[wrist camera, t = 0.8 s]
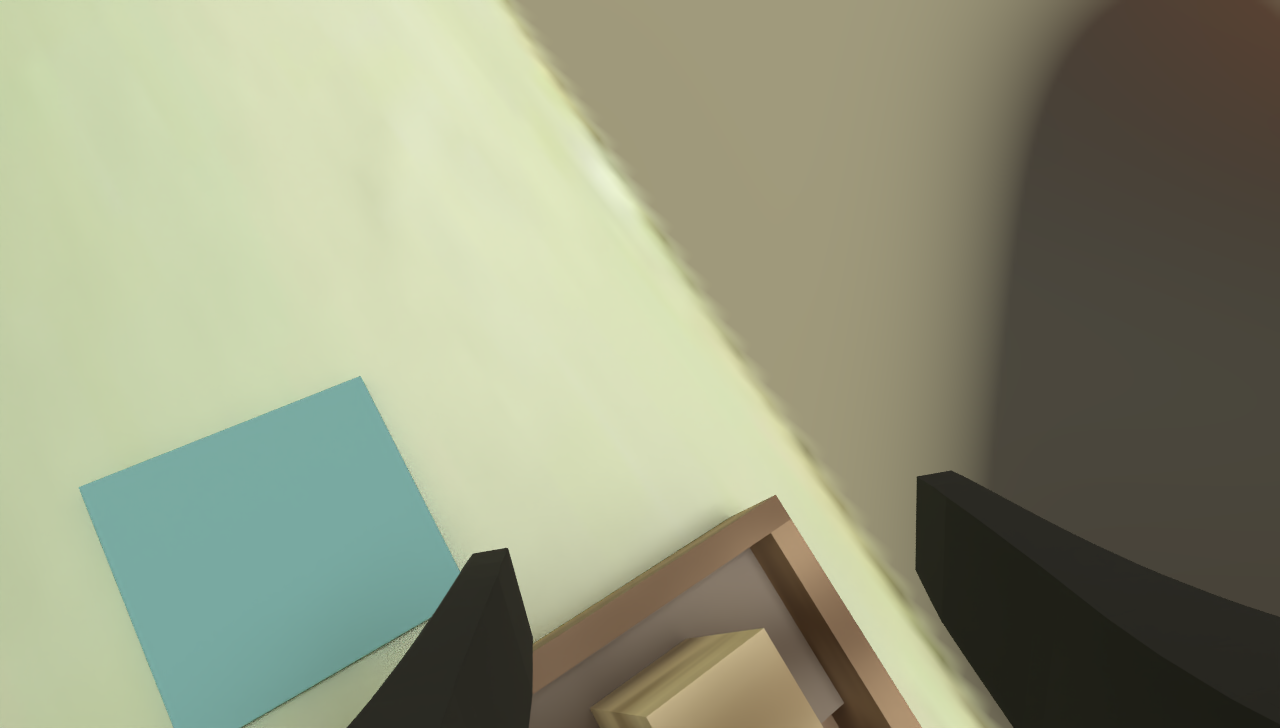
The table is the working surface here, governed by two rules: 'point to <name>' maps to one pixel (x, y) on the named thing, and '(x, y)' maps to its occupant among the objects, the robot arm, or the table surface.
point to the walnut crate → (721, 627)
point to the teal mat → (270, 555)
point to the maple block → (711, 688)
